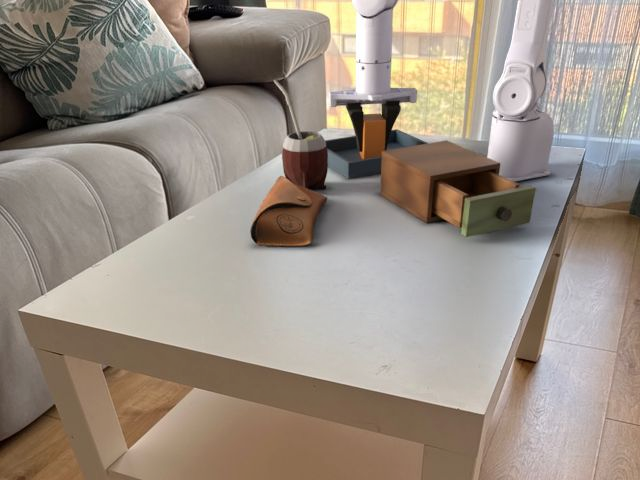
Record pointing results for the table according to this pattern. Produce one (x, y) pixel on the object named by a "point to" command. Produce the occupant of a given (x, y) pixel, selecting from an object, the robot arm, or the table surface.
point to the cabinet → (426, 173)
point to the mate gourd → (304, 155)
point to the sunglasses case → (287, 215)
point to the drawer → (482, 202)
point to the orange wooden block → (373, 136)
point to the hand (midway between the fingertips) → (371, 149)
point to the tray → (350, 161)
